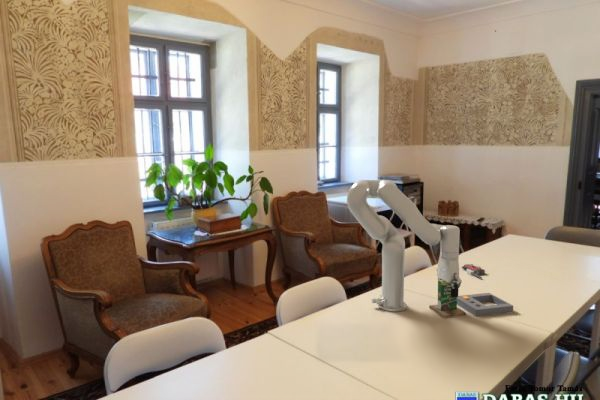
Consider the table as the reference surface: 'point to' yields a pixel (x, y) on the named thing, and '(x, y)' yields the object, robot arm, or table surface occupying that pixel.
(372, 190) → the robot arm
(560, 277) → the table surface
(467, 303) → the toy stove front
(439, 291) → the coffee box
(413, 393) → the table surface
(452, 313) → the walnut pad
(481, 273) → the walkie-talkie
